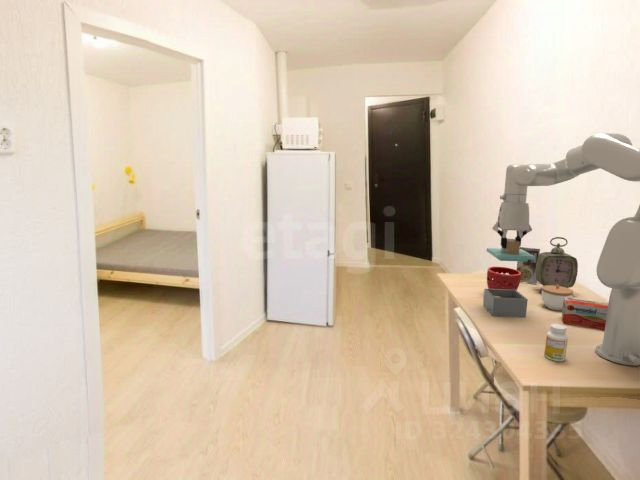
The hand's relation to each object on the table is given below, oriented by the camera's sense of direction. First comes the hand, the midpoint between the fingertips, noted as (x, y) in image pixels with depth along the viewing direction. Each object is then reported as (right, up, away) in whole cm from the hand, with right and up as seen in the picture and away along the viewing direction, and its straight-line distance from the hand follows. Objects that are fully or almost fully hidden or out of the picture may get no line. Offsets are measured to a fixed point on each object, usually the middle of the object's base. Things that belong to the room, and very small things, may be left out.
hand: (510, 247), depth 158 cm
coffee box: (+29, -17, +47) cm, 58 cm away
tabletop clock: (+32, -21, +30) cm, 48 cm away
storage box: (0, -25, +5) cm, 25 cm away
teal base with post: (0, -4, +1) cm, 4 cm away
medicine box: (+24, -28, -6) cm, 37 cm away
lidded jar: (+22, -24, +10) cm, 34 cm away
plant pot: (+6, -22, +22) cm, 32 cm away
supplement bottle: (-2, -32, -33) cm, 46 cm away
